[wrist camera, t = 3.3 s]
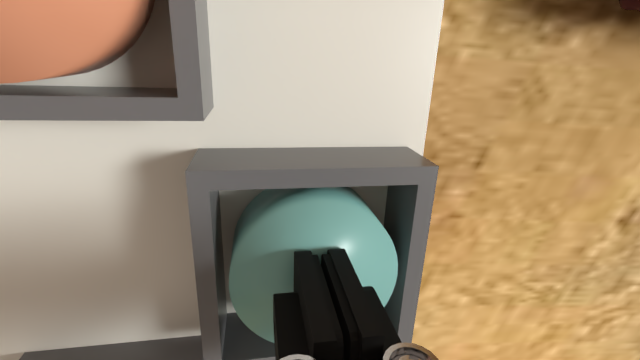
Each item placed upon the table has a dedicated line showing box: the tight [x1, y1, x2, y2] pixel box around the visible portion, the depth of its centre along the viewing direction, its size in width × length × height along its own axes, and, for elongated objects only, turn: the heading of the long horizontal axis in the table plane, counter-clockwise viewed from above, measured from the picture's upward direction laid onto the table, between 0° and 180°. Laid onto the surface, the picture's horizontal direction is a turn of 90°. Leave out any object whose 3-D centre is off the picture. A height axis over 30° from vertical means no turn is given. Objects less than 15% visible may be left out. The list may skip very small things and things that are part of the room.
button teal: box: [229, 187, 398, 343], centre depth 13 cm, size 6×6×2 cm
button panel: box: [0, 0, 444, 360], centre depth 14 cm, size 26×17×6 cm, turn 178°
